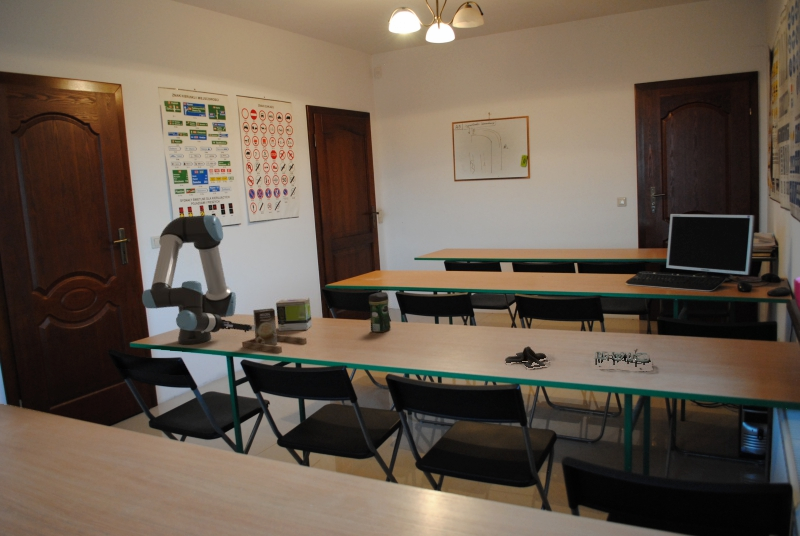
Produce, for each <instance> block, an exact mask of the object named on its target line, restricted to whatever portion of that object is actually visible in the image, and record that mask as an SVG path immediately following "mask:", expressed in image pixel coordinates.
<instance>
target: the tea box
mask: <svg viewBox="0 0 800 536" xmlns="http://www.w3.org/2000/svg"><path fill="white" fill-rule="evenodd" d="M275 306H276V316H277V328H278V332H280V331H281V332H282V331H301V330H302V331H303V330H304V331H306V330H308V329H310V328H311V327H312V324H313V323H312V312H311V301H310V298H309V297H305V298H287V299H284V298H283V299H280V300H279V301H277V302H276V303H275ZM309 327H310V328H309Z"/></svg>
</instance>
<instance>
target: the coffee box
mask: <svg viewBox="0 0 800 536" xmlns="http://www.w3.org/2000/svg"><path fill="white" fill-rule="evenodd" d="M275 311H276V310H275V308H263V309H253V323H254V324H253V325H255V329H254V338H255V340H256V343H260V344H267V345H274V346H278V341H277V335H276V334H277V325H276V324H277V323H276V312H275Z"/></svg>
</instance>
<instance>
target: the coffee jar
mask: <svg viewBox="0 0 800 536" xmlns="http://www.w3.org/2000/svg"><path fill="white" fill-rule="evenodd" d="M368 304H369V307H370V331H371V332H373V333H377V334H378V333H384V332H387V331H389V330H391V320H390V315H389V314H390V312H389V295H388V293H387V292H385V291H380V292H376V293H373V294H369V296H368Z"/></svg>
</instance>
